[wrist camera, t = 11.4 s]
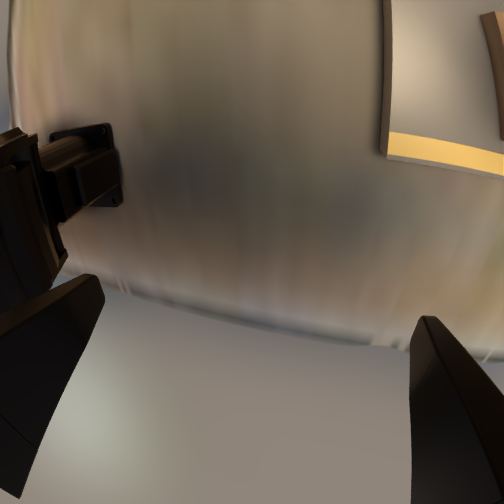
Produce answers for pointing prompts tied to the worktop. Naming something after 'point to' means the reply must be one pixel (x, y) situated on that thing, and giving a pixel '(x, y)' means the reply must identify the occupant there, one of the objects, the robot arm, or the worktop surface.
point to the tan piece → (496, 57)
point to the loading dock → (440, 86)
